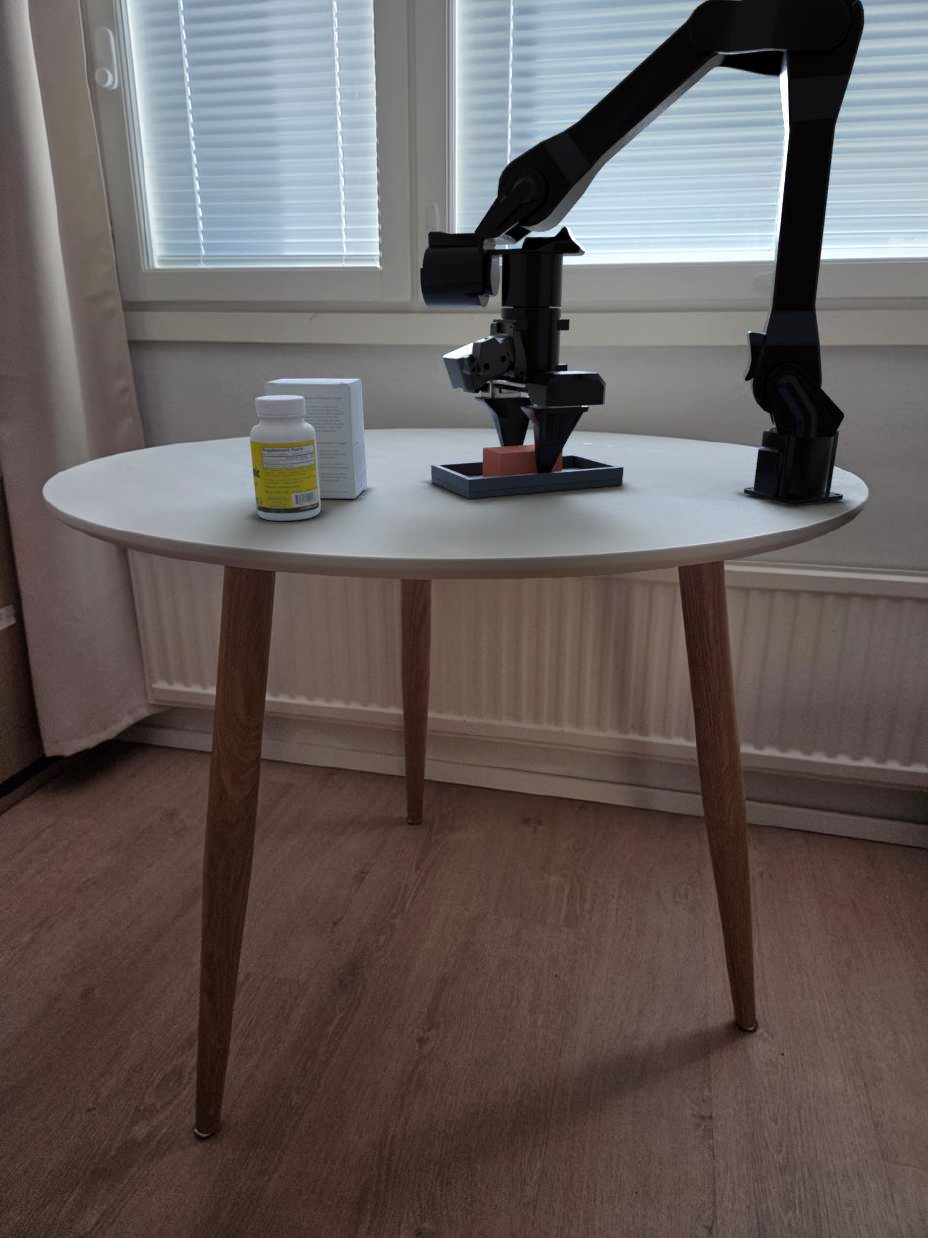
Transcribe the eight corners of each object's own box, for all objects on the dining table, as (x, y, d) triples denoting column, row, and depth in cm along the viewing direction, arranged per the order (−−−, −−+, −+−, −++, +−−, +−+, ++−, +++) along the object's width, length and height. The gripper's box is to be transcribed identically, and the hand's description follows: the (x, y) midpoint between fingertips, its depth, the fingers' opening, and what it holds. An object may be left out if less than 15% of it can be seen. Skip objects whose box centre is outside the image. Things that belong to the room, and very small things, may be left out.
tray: (574, 470, 93) (575, 454, 93) (622, 484, 85) (623, 467, 85) (431, 482, 86) (430, 464, 86) (468, 498, 79) (468, 479, 78)
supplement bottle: (265, 507, 75) (256, 394, 71) (326, 508, 75) (320, 394, 71) (249, 521, 70) (238, 399, 66) (314, 522, 69) (306, 400, 66)
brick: (542, 472, 88) (543, 443, 87) (561, 478, 85) (563, 448, 84) (482, 477, 86) (482, 447, 85) (499, 484, 82) (500, 453, 81)
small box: (368, 488, 83) (364, 377, 80) (355, 500, 78) (350, 382, 74) (288, 486, 84) (281, 377, 80) (271, 498, 79) (262, 381, 75)
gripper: (416, 308, 85) (418, 463, 90) (499, 306, 69) (496, 494, 74) (514, 308, 89) (511, 456, 95) (613, 307, 73) (603, 485, 79)
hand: (526, 471), depth 85 cm, fingers open, 6 cm apart
